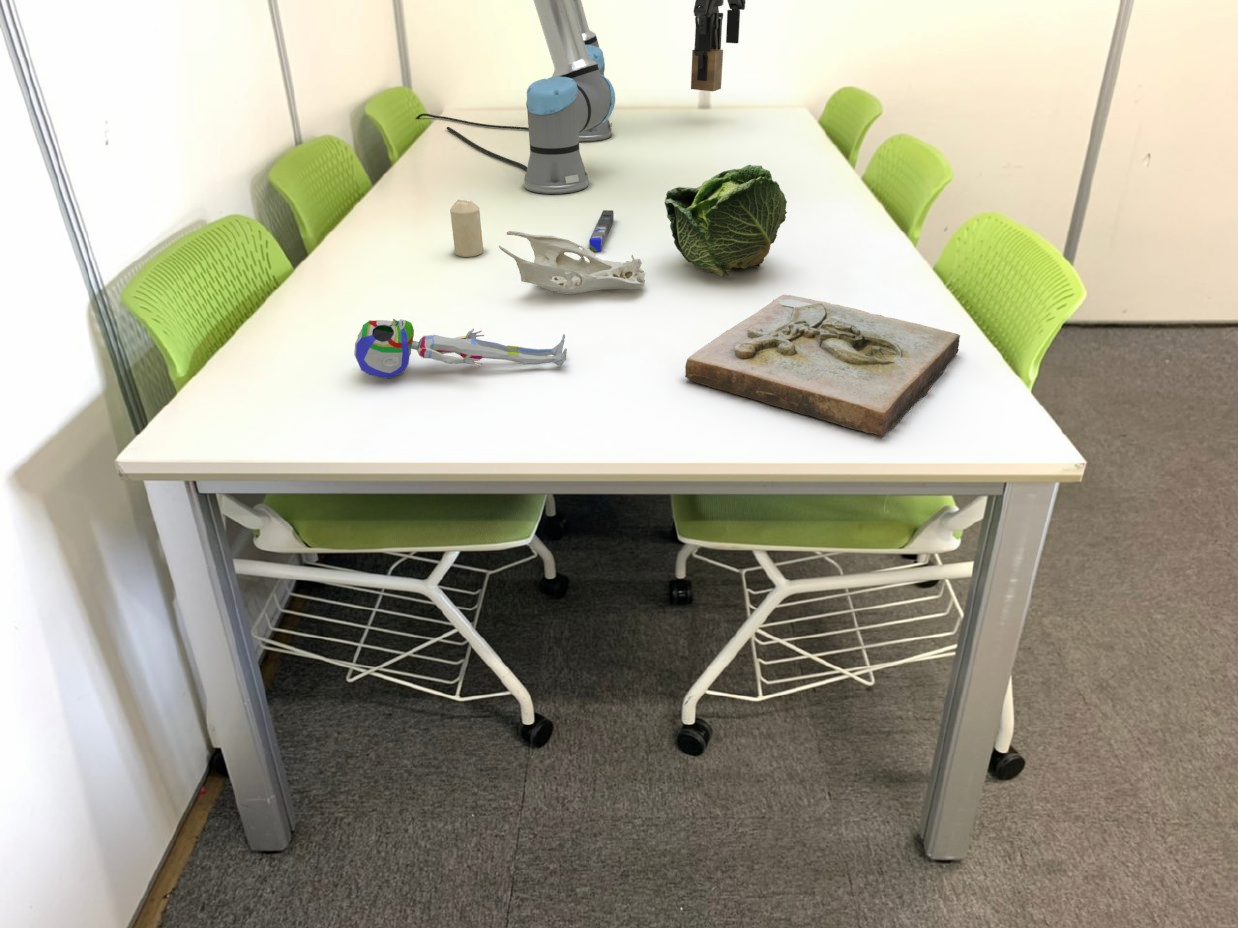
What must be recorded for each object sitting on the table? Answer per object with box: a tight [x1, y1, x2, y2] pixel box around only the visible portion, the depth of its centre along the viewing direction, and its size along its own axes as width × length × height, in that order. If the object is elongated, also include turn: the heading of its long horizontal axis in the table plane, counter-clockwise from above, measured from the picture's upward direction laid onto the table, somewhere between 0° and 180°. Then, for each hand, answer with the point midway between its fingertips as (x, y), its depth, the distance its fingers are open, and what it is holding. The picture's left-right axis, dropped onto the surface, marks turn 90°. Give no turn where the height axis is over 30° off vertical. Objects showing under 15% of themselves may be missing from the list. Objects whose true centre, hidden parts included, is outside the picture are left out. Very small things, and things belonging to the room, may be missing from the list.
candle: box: [449, 199, 484, 258], centre depth 172 cm, size 6×6×10 cm
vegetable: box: [664, 164, 788, 278], centre depth 161 cm, size 20×19×20 cm
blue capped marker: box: [588, 209, 615, 252], centre depth 182 cm, size 2×2×20 cm
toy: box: [353, 318, 568, 379], centre depth 130 cm, size 10×8×30 cm
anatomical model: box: [498, 230, 646, 295], centre depth 156 cm, size 15×9×25 cm
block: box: [690, 48, 724, 92], centre depth 263 cm, size 5×7×11 cm
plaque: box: [684, 294, 961, 438], centre depth 129 cm, size 30×7×30 cm
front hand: (718, 47), depth 194 cm, fingers open, 13 cm apart
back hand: (706, 79), depth 264 cm, fingers closed on block, 5 cm apart
